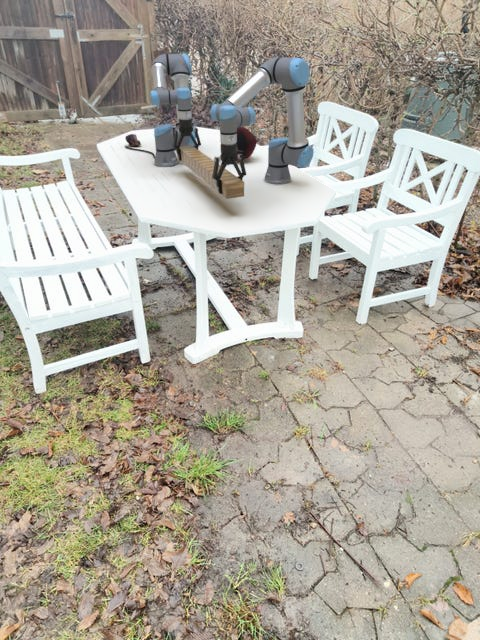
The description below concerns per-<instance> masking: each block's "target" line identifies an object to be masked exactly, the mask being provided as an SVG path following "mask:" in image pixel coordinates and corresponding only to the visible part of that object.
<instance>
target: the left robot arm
mask: <svg viewBox="0 0 480 640" xmlns="http://www.w3.org/2000/svg"><path fill="white" fill-rule="evenodd" d="M150 74H151V76H152V84H153V85H152V86H153V89H152V90H150V92H149V94H150V95H149V96H150V103H151V105H152V106H168V105H170V106H172V105H175V107H176V108H175V109H176V118H177V119H176V120H177V121H176V123H175V124H174V125H175V126H173V125H172V124H170V123H169V124H168V123H166V124H161V125H158V126H156V127H155V128H154V129H153V133H154V134H153V136H154V142H155V143H154V145H155V154H154V152H152V151H150V150H146V149H139V148H133V147H131V146H127V145H125V146H124V147H125V148H126V149H129V150H132V151H138V152H145V153H148V154H151V155H152V156H153V159H154V165H155V166H157V167H163V168H164V167H165V168H167V167H168V168H169V167H174V166H177V165H178V164H179V161H180V162H181V149H179V148H180V146H187V145H192V146H193V145H195V146H194V147H195V148H196V149H198V150H199V147H200V146H202V143H201V139H200V135H199V128H198V127H197V126H195V123H194V122H193V119H192V117H193V115H192V113H193V112H192V100H191V99H192V98H191V97H192V94H191V89H190V88H189V80H190V78H191V76H192V75H193V71H192V64H191V59H190V57H189V54H187V53H181V52H180V53H162V54H160V55H158V56H156V57H155V58H154V59H153V61H152V62H151V64H150ZM166 76H171V77H170V79H171V80H172V81H173V86H174V89H168V88H167V77H166ZM196 141H197V142H196ZM174 148H175V149H174ZM177 155H178V156H179V159H178V158H177Z"/></svg>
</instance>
